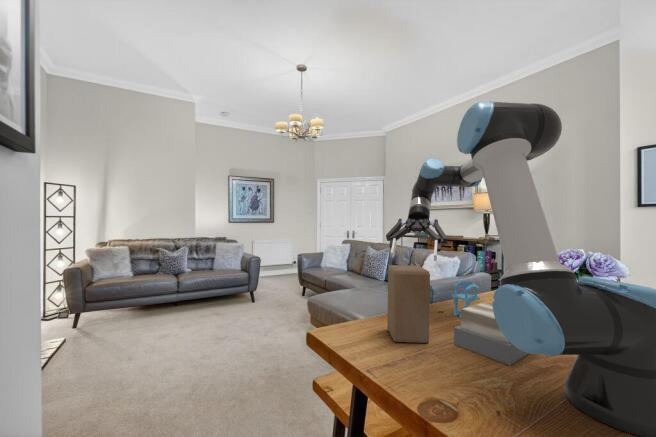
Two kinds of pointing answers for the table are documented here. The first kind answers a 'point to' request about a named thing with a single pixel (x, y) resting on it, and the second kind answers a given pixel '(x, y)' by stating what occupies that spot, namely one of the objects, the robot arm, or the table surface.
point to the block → (408, 303)
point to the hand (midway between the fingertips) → (413, 256)
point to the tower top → (482, 321)
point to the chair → (464, 296)
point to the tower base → (487, 346)
